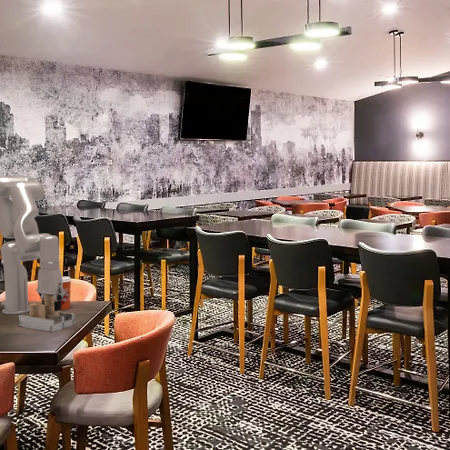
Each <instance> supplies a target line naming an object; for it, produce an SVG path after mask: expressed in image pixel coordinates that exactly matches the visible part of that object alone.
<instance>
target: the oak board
mask: <svg viewBox="0 0 450 450" xmlns="http://www.w3.org/2000/svg"><path fill="white" fill-rule="evenodd" d="M29 306H30V314H29V316H33V317H39V318H45V305H42V303H30V304H29ZM45 319H46V318H45Z"/></svg>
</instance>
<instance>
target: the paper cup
mask: <svg viewBox="0 0 450 450" xmlns="http://www.w3.org/2000/svg"><path fill="white" fill-rule="evenodd" d="M62 282H63V289H64V290H65V292H66V294H65V295H64V297H63V298H62V300H61V310H60V311H63V310H70V307H71V284H72V283H71V282H72V279H71V277H70V276H62ZM60 294H61V293H60Z"/></svg>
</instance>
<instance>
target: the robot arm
mask: <svg viewBox="0 0 450 450" xmlns="http://www.w3.org/2000/svg"><path fill="white" fill-rule="evenodd" d="M9 196H10V197H11V198H10V197H9ZM44 197H45V189H44V186H43V184H42V183H41V182H40V181H38V180H37V179H34V178H32V177H29V176H26V175H21V176H20V175H18V176H16V175H14V176H12V175H11V176H9V175H8V176H7V175H6V176H0V233H1V236H2V237H3V238H5V239H14V240H10V241H6V242H4V243H3V244H2V245H1V248H0V255H1V259H2V263H3V272H4V294H5V299H4V300H3V301H2V302H0V303H1V306H4V308H3V309H2V314H5V315H24V314H27V313H29V312H30V305H29V286H28V284H29V282H28V271H27V269H26V267H25V265H23V264H22V262H26V261H27V262H28V261H36V260H39V267H40V269H38V273H37V287H36V289H35V291H36V292H37V294H38V296H39V297H40V300H41V304H42V305H44V295H45V294H47V295H53V296H54V299H55V301H54V311H62V310H61V300H62V298H63V297H64V295H65V294H66V292H65V290H64V289H63V282H62V277H63V274H62V271H61V268H60V248H59V247H60V246H59V237H58V236H57V235H52V234H50V233H40V231H39V227H38V223H37V221H36V219H35V218H36V217H37V216H38V214H39V209H38V206H37V204H36V203H37V202H35V201H41V200H42V199H43V198H44ZM60 293H61V294H60ZM57 295H58V297H57Z"/></svg>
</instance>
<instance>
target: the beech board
mask: <svg viewBox="0 0 450 450" xmlns="http://www.w3.org/2000/svg"><path fill="white" fill-rule="evenodd" d="M57 297H58V295H57ZM54 301H55V299H54V296H53V295H47V294H45V295H44V305H45V314H51V315H57V316H60V315H59V311H60V310H59V311H54Z"/></svg>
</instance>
